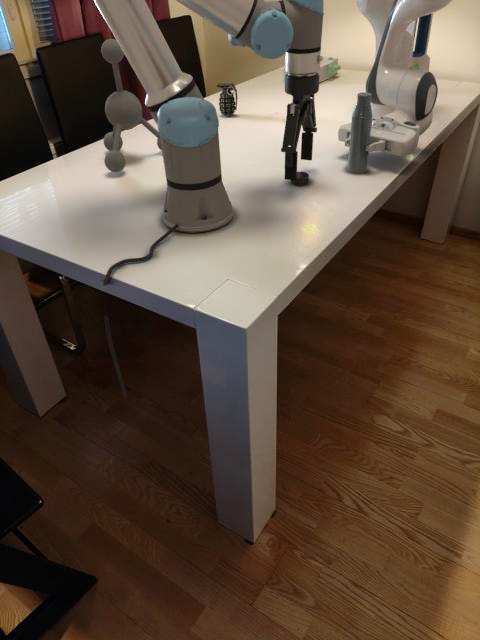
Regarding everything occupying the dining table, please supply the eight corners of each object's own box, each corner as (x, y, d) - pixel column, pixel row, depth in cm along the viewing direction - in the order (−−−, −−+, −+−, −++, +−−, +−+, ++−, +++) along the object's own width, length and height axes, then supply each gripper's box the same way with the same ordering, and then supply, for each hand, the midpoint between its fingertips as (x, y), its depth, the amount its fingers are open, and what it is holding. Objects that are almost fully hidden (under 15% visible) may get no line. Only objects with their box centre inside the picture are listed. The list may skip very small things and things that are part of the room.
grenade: (217, 117, 168) (214, 86, 162) (221, 112, 172) (219, 82, 166) (235, 117, 166) (233, 86, 160) (239, 113, 171) (238, 82, 165)
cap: (293, 186, 118) (294, 179, 117) (288, 180, 122) (288, 172, 121) (311, 184, 119) (311, 176, 118) (305, 177, 122) (305, 170, 121)
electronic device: (396, 96, 178) (410, -2, 160) (386, 91, 184) (398, -4, 166) (427, 92, 181) (443, -5, 162) (416, 87, 186) (431, -6, 168)
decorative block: (306, 54, 217) (347, 57, 207) (305, 70, 221) (345, 73, 211) (275, 65, 201) (318, 69, 191) (275, 82, 205) (317, 87, 195)
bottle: (349, 165, 127) (356, 91, 116) (368, 167, 126) (376, 91, 115) (345, 172, 124) (352, 96, 113) (364, 174, 122) (373, 97, 111)
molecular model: (189, 163, 134) (174, 38, 115) (109, 178, 128) (80, 49, 110) (167, 139, 151) (151, 28, 133) (95, 151, 145) (69, 36, 127)
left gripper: (303, 87, 95) (299, 190, 108) (332, 62, 113) (326, 153, 126) (267, 85, 97) (267, 186, 110) (301, 61, 116) (298, 150, 129)
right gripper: (357, 113, 132) (325, 125, 125) (426, 126, 120) (395, 141, 112) (354, 136, 136) (323, 150, 128) (421, 152, 124) (391, 168, 116)
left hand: (298, 169), depth 118 cm, fingers open, 13 cm apart
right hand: (357, 146), depth 120 cm, fingers closed on bottle, 5 cm apart
